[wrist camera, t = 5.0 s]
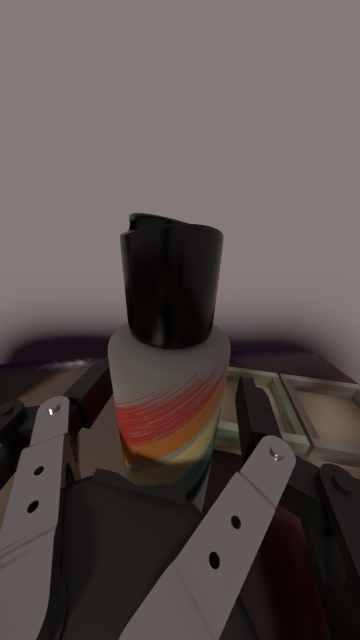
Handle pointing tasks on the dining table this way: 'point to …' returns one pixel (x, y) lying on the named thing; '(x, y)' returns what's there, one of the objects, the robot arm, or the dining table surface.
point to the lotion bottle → (169, 354)
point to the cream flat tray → (301, 417)
